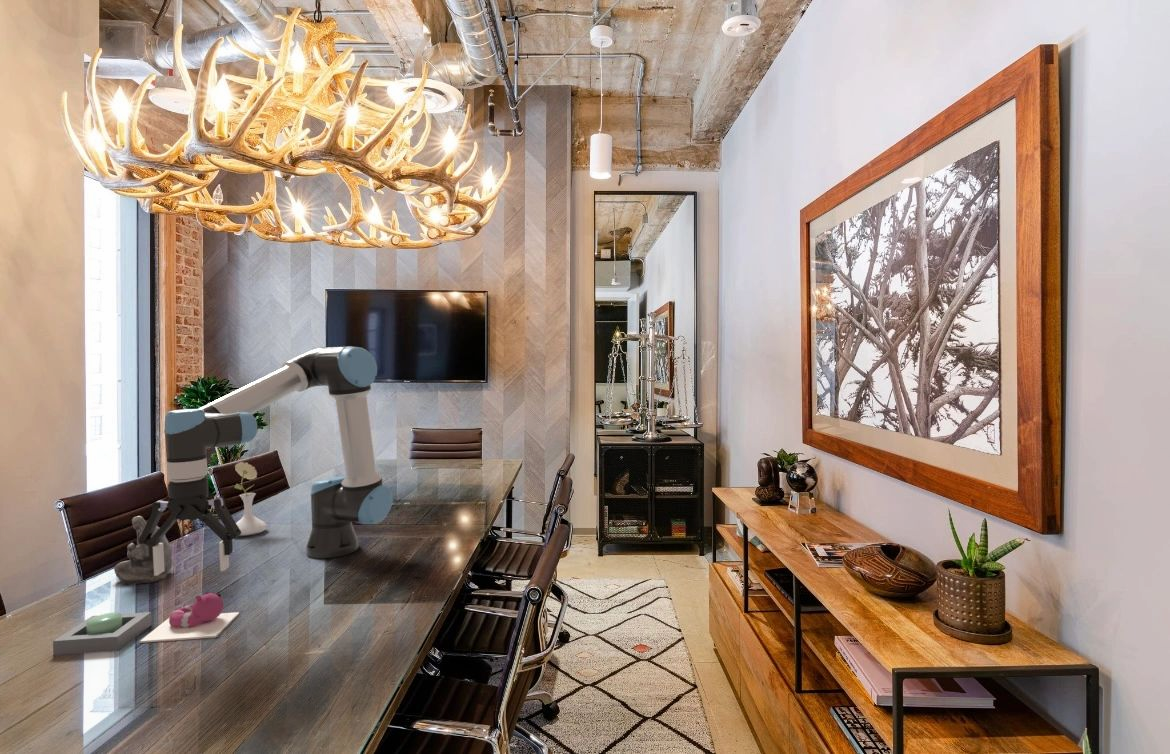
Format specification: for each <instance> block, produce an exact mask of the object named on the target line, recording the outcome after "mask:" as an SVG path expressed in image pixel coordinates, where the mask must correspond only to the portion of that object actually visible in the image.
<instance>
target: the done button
mask: <svg viewBox="0 0 1170 754" xmlns="http://www.w3.org/2000/svg"><path fill="white" fill-rule="evenodd" d="M122 614H123V613H121V612H108V613H107V612H106V613H103V614H99V615H95V616H96V617H93V618H91V619H89V620H88V621H87V622H86V630H87V635H90V634H105V633H114V632H115V631H117V630H118V629H119V628H121V627H122Z"/></svg>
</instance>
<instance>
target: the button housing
mask: <svg viewBox="0 0 1170 754" xmlns="http://www.w3.org/2000/svg"><path fill="white" fill-rule="evenodd" d="M121 614H122V627H121V628H119V629H118V630H117V631H115V632H114V633H105V634H90V635H87V630H86V622H87V621H88V620H89V619H91V618H93V617H96V616H97V615H92V616H90V617H88V618H87V619H85V620H84V621H82V622H81V623H79V624H77V625H76V626H74V627H73V628H71V629H70V630H68V631H66V632H65V633H63V634H62V635H61V636H59V637H57V638H56V639H54V640H52V649H53V650H52V653H53V656H63V655H64V656H65V655H77V654H92V653H104V652H119V651H120V650H121V649H122V648H123V647H125V646H126V645H128V644H129V643H130V642H131V641H132V640H134V639H135V638H137V637H139V635H141V634H142V633H143V632H144V631H146V630H147V629H148V628H150V626H152V612H151V611H145V612H131V613H121Z"/></svg>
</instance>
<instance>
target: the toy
mask: <svg viewBox="0 0 1170 754" xmlns="http://www.w3.org/2000/svg"><path fill="white" fill-rule="evenodd" d="M195 599H196V600H195V601H194V602H193V604H189V605H184V606H182V607H179V608H176V609H175V610H173V611H172V612H171V613H170V616H169V617H168V618H169V623H170V625H171V626H175V627H181V628H190V627H193V626H196V625H197V624H199V623H201V622H208V621H212V620H214V619H215V618H217V617H218V616H219V615H220V614H221V613H222V612H223V609H224V600H223V599H222V597H221V594H220V593H212V592H206V593H205V594H203V595H195Z"/></svg>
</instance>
